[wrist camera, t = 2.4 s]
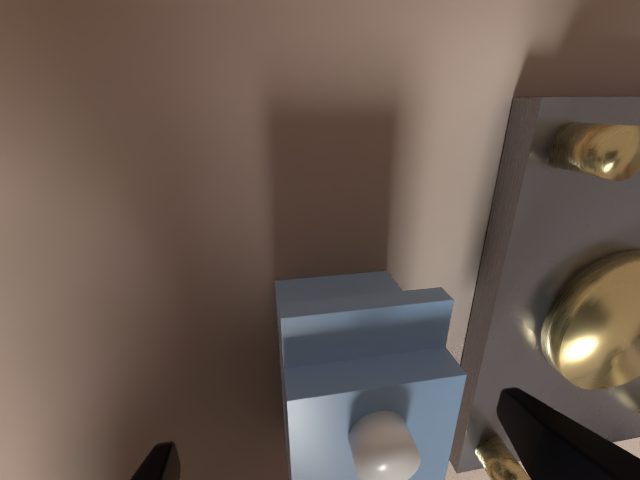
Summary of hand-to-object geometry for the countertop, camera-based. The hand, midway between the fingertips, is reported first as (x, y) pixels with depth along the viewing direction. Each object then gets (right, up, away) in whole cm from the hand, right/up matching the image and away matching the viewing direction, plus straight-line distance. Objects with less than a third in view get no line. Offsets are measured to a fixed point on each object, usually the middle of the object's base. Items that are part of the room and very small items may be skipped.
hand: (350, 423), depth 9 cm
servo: (0, +1, +2) cm, 3 cm away
